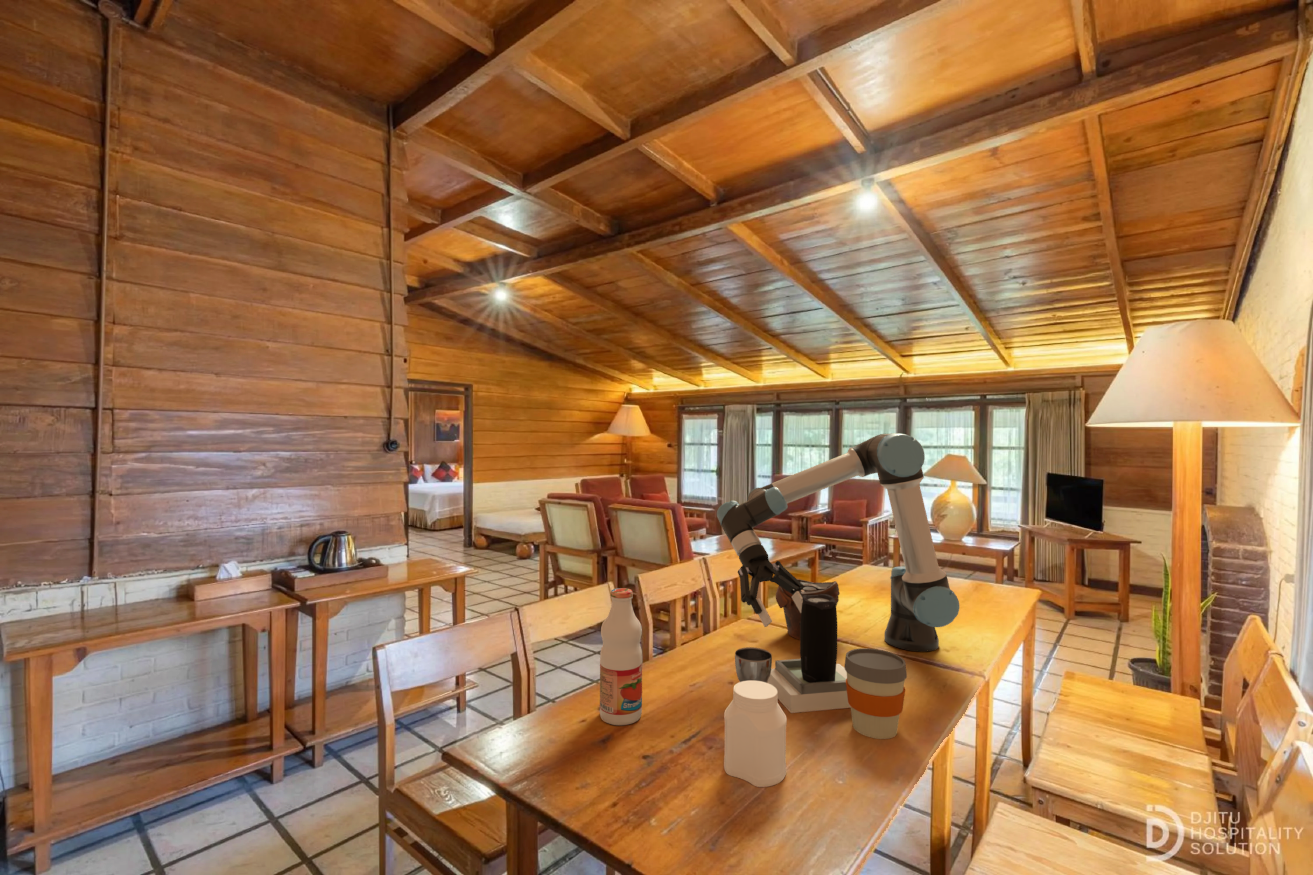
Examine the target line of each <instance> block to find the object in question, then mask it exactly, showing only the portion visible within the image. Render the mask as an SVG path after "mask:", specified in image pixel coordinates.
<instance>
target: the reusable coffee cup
mask: <svg viewBox="0 0 1313 875" xmlns="http://www.w3.org/2000/svg"><path fill="white" fill-rule="evenodd" d="M844 660H845V661H844V666H843V667H844V668H845V670H846V672H847V679H846V689H847V697H848V703H849V705H850V706H851V708H850V713H851V714H850V715H851V721H852V728H853V729H854V730H855V731H856V732H857V733H859V734H860V735H863V736H865V737H869V738H873V739H877V740H884V739H885V740H887V739H892V738H894V737H896V736H897V733H898V728H899V727H898V726H899V723H900V722H899V721H900V714H902V712H903V709H904V701H905V694H906V687H905V680H906V679H907V677H908V676H907V675H908V673H907V664H906V663H907V662H906V661H905V659H904V658H903V657H901V656H900V655H898V654H896V653H894V652H891V651H887V650H883V649H877V648H854V649H850V650H848V651H847V652H846V654H845V659H844Z"/></svg>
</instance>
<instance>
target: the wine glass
mask: <svg viewBox="0 0 1313 875" xmlns="http://www.w3.org/2000/svg"><path fill="white" fill-rule="evenodd" d="M772 661H773V655H772V653H771V652H770V651H769V650H767V649H764V648H760V647H752V646H751V647H750V646H749V647H741V648H738V649H736V650H735V652H734V662H735V663H734V666H735V672H736V676H737V680H738V681H739V682H742V681H750V680H753V681H762V682H766V683H767V682H768V681H769V678H770V674H771V669H772V667H773V666H772V665H773V662H772Z"/></svg>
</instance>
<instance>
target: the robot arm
mask: <svg viewBox="0 0 1313 875" xmlns="http://www.w3.org/2000/svg"><path fill="white" fill-rule="evenodd" d="M925 456H926V455H925V450H924V448H923V445H921V442H919V440H917V439H916V438H914V437H913V436H911V435H908V434H905V433H902V432H894V433H892V432H891V433H880V434H876V435H874V436H873V437H870V438H868V439H867V440H865V441H863V442H860V443H859V444H857V445H854V446H852V447H849V448H848V450H847V451H846V453H843V454H841V455H839V456H836V457H834V458H831V459H829V460H826V461H824V462H822V463H819V464H816V465H813V466H811V467H808V468H806V469H804V470H801V471H798V472H797V473H794V474H791V475H789V476H786V477H784V478H782V479H779V480H777V481H774V482H772V483H769V484H767V485H764V486H761V487H755V488H753V489H752V490H751V491H749V493H748V494H747V500H746V501H745V502H743V503H741V504H740V503H739V502H738V501H736V500H729V501H726V502H724V503H723V504H721V505H720V506H719V507H718V508H717V511H716V517H717V520H718V522H719V524H720V526H721V528H722V529H723V532H724V533H725V535H726V537H727V539H728V540H729V542H730V544H731V546H732V548H733V550H734V551H735V554H736V555H737V556H738V559H739V561H740V563H741V566H740V567H739V569H738V571H737V574H738V577H739V583H740V596H741V600H740V601H741V602H742V603H743V604H745V603H746V605H747V606H751V608H752V610H753V611H754V613H755V614H756V615H757V616H758V618H759V619H760V621H761V623H762V625H763V627H764V628H767V627H768V626H769V625H770V624H771V623H772V622H773V620H772V618H771V616H770V615H769V613H768V611H767V609H766V607H765V605H764V603H763V601H762V599H761V598H760V597H759V598H757V597H758V593H759V592H758V591H759V588H760V587H759V585H760V583H763V582H771V583H775V585H778V586H781V587H782V588H783V589H785V590H786V591H788V592H789V593H791V594H792V595H793V596H792V599H793V601H794V602H795V604H796V606H797V608H798V609H799V611H800V613H801V609H802V603H803V598H802V596H803V595H802V594H801V590H802V589H803V588H804V585H803V584H801V583H800V582H799V581H798V580H797V579H798V578H796V577H795V576H794V575H793V574H792V573H791V572H790V571H788V570H787V569H786V568H785V567H784V566H783V564H782V562H781V561H780V560H776V561H775V562H774V563H772V562H770V560H769V554H768V552H767V550H766V548H765V547H764V545H763V544H762V542H761V540H760V538H759V536H758V535H757V533H756V532H755V529H754V528H755V527H757V526H759V525H761V524H763V523H765V522H766V521H769V520H770V519H772V518H774V517H776V516H779V515H781V513H783V512H785V511H786V510H787V509H788V504H789V503H792V502H796V501H797V500H799V499H800V500H801V499H803V498H805V497H807V496H810V495H812V494H815V493H817V492H820V491H823V490H825V489H827V488H829V487H832V486H834V485H838V484H840V483H842V482H845V481H848V480H850V479H853V478H856V477H857V476H858V477H861V478H865V477H867V476H869V475H873V474H877V477H878V481H879V485H880V486H881V487H883V488H885V489H886V491H887V495H888V499H889V504H890V507H891V512H892V517H893V521H894V526H895V529H896V535H897V538H898V542H899V547H900V551H901V556H902V560H903V564H904V565H903V566H901V565H900V566H894V567H893V568H892V569H891V574H890V577H889V578H890V616H889V619H888V622H887V624H886V627H885V628H886V629H885V630H884V641H885V643H887V644H888V645H890V646H892V647H895V648H898V649H901V650H905V651H909V652H910V651H911V652H922V653H923V652H932V651H935V650H938V648H939V647H940V646H939V645H940V644H939V643H940V642H939V641H940V640H939V636H938V634H937V630H936V628H942V627H946V626H948V625H951V624H952V622H954V620H955V619H956V618H957V617H958V615H959V612H960V600H959V598H958V596H957V595H956V593H955V592H954V591H953V590H952V589H951V588H950V583H949V580H948V575H947V572H946V571H945V570H943V569H942V568H940V566H939V564H938V563H939V561H938V559H937V555H936V550H935V547H934V546H935V545H934V542H933V538H932V536H933V535H932V533H931V529H930V528H931V527H930V524H929V520H928V515H927V512H926V506H925V502H924V498H923V494H922V493H923V492H922V490H921V489H922V488H921V486H920V485H921V484H920V483H921V482H922V480H923V479H924V472H923V468H922V467H923V465H924V463H925V458H926V457H925ZM749 576H751V579H749ZM750 584H751V585H750ZM793 589H794V590H793Z"/></svg>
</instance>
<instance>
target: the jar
mask: <svg viewBox="0 0 1313 875" xmlns="http://www.w3.org/2000/svg"><path fill="white" fill-rule="evenodd" d="M732 692H733V693H732V694H733V695H732V700H731V702H730V703H729V705H728V706H727V707H726V709H725V710H724V714H723V716H724V718H723V719H724V757H723V769H724V771H725V773H726V775H728V776H730V777H733V778H734V777H735V778H738V779H740V780H743V781H746V782H747V783H749V784H750V785H752V786H755V787H757V788H767V787H772V786H775V785H778V784H779V783H781V782H782V781H783V780H784V779H785V777H786V775H787V762H786V758H787V756H786V754H787V748H786V747H787V746H786V744H787V742H786V741H787V721H788V720H787V715H786V714H785V712H784V711H783V709H782V708H781V706H780V704H779V703H778V702H779V701H778V700H779V699H778V696H777V695H778V691H777V689H776V688H775V687H774V686H773V685H771V684H769V683H766V682H762V681H753V680H750V681H742V682H740V681H739V682H737V683H735V684H734V686H733V691H732Z"/></svg>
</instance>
